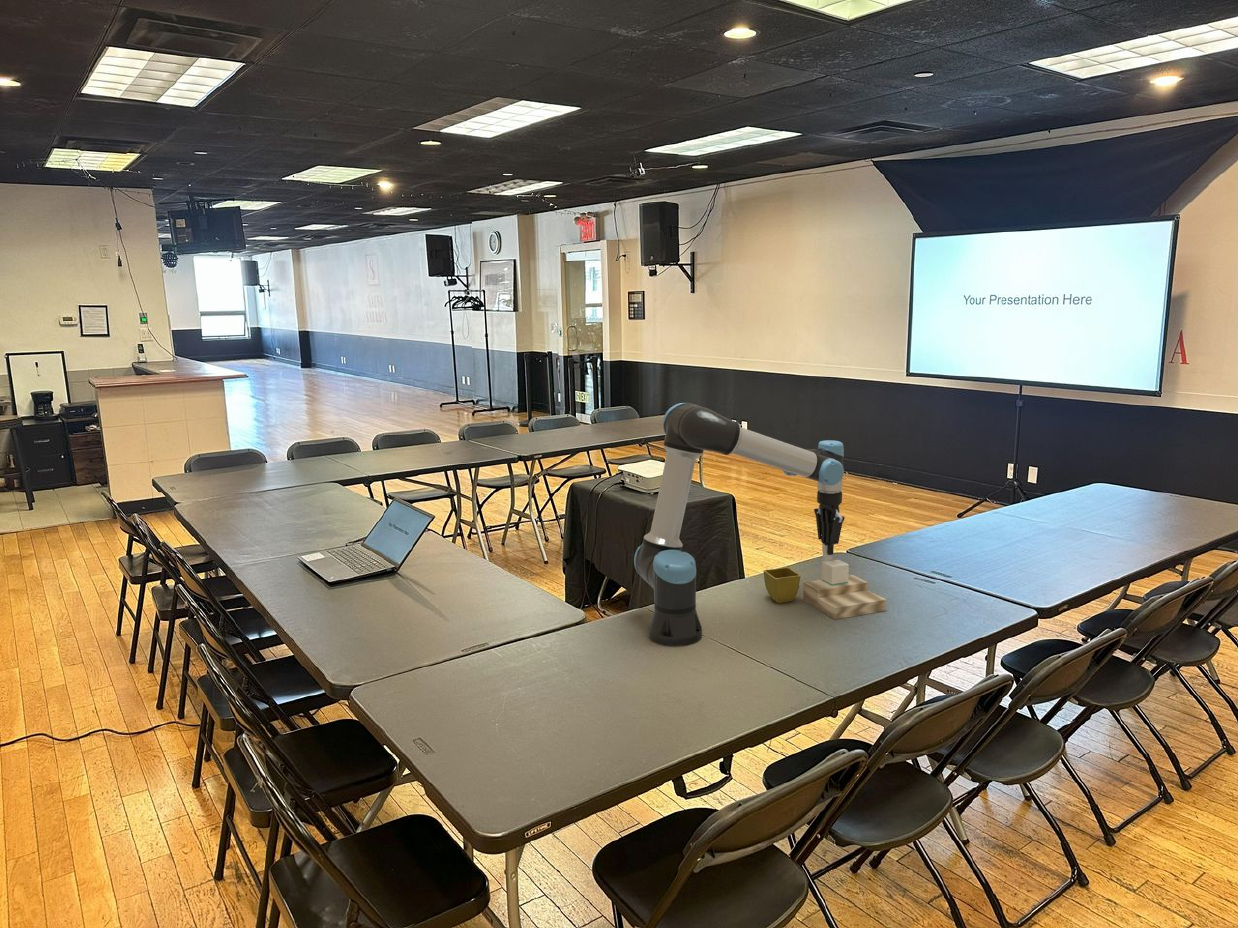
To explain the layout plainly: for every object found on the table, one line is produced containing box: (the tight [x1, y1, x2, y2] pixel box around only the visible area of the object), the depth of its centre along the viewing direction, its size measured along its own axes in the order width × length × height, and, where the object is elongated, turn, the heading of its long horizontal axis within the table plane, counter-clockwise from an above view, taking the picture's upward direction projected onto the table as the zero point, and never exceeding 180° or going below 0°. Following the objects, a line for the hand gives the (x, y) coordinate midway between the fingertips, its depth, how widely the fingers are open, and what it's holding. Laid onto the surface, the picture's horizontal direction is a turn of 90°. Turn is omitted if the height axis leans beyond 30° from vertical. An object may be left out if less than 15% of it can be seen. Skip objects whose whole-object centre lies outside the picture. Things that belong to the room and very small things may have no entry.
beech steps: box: [802, 574, 887, 620], centre depth 244 cm, size 18×17×6 cm
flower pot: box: [762, 566, 801, 604], centre depth 250 cm, size 9×9×9 cm
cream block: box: [820, 559, 850, 586], centre depth 248 cm, size 6×6×6 cm
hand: (827, 563), depth 251 cm, fingers closed
